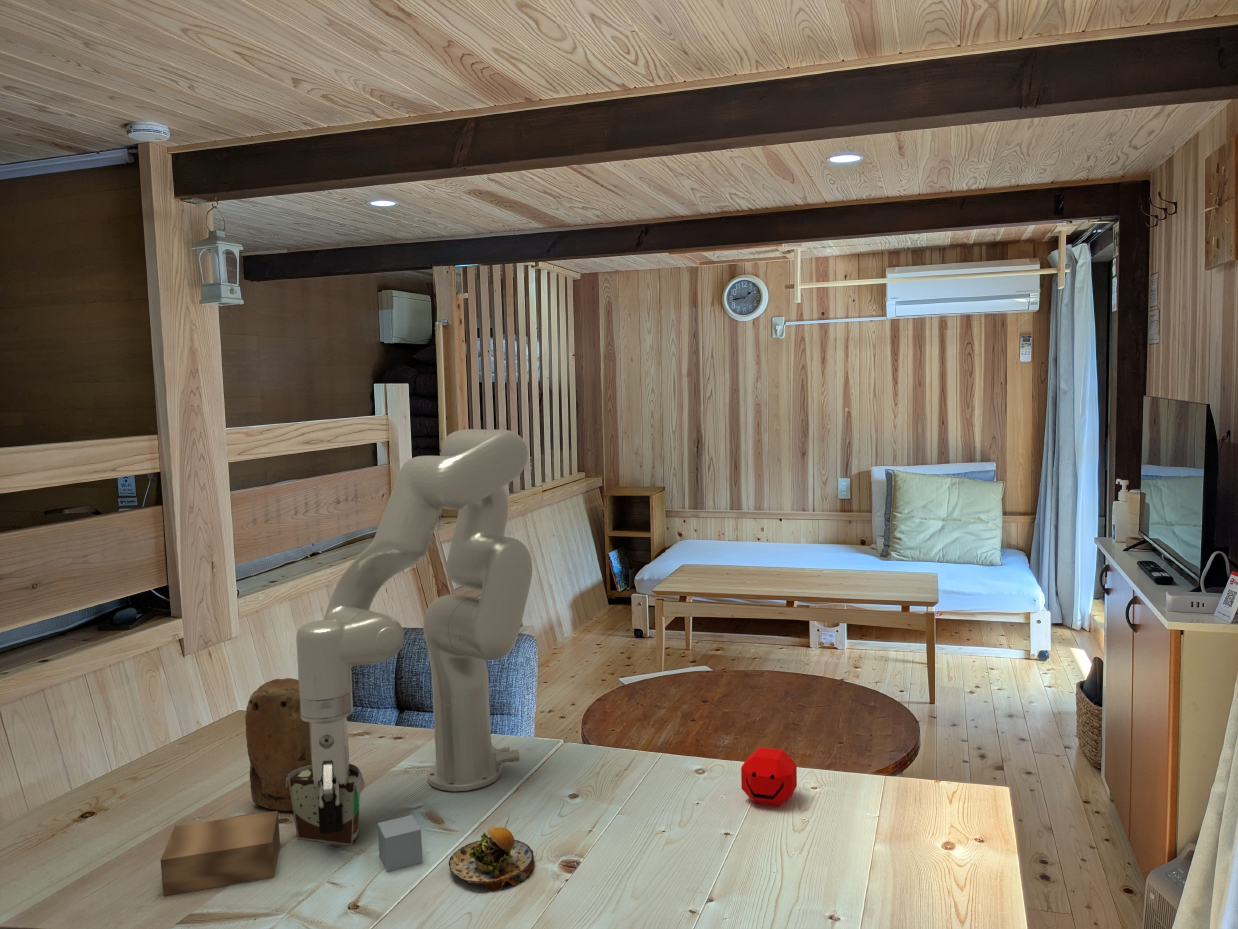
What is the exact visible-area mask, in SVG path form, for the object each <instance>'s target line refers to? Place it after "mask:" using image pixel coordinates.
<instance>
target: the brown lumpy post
mask: <svg viewBox="0 0 1238 929" xmlns="http://www.w3.org/2000/svg"><path fill="white" fill-rule="evenodd" d="M244 718H245V719H244V720H245V721H244V722H245V738H246V748H247V749H246V750H247V754H248V760H249V764H250V765H249V782H250V787H249V788H250V794H251V799H252V803H254V804H255V805H258V806H259V807H263V808H265V809H270V810H273V811H281V812H282V811H283V812H291V811H292V812H293V807H292V801H291V794H290V788H289V786H288V787H286V779H287V778H288V774H289V773H291V772H293V771H295V770H297V769H299V768H302V767H305V766H309V765H312V761H311V748H310V732H309V722H306V721H303V720H302V719H301V718H300V702H299V682H298V679H297V678H291V677H288V678H275V679H271V680H269V681H267V682H265V683H263V684H262V685H260V686H259V687H258V688H257V689H256V690H255V691H253V693H252V694H251V695H250V697H249V700H248V702H247V706H246V713H245V716H244Z"/></svg>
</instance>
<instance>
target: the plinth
mask: <svg viewBox="0 0 1238 929" xmlns="http://www.w3.org/2000/svg"><path fill="white" fill-rule="evenodd" d="M280 838H281V836H280V824H279V810H273V811H268V812H262V813H261V812H260V813H255V814H247V815H240V816H234V817H227V818H222V819H221V818H220V819H213V820H206V821H201V822H200V821H199V822H194V823H188V824H187V823H186V824H181V825H175V826H174V827H173V829H172V832H171V835H170V836H169V839H168V842H167V844H166V846H165V848H164V850H163V854H162V855H161V858H160V870H161V882H162V896H163V897H166V896H172V895H177V894H184V893H189V892H194V891H200V890H206V889H212V888H218V887H224V886H230V885H235V884H242V883H248V882H254V881H260V880H266V879H270V878H275V875H276V868H277V864H278V858H279V852H280V846H281V839H280ZM165 895H166V896H165Z"/></svg>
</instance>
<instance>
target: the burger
mask: <svg viewBox="0 0 1238 929" xmlns="http://www.w3.org/2000/svg"><path fill="white" fill-rule="evenodd" d="M507 818H508V819H507V821H506V823H505V826H504V827H503V826H491V827H490V828H488V829H487V830H486V832H484V831H483V833H482V835H480V838H481V839H480V840H476V841H473V842H469V843H468V844H465V845H464V846H462V847H460V848H458V849H457V850H456V851H455V852H453V854H452V855H451V856H450V858H449V860H448V867H449V871H450V872H451V873H452V874H453V875H456V876H457V877H458V878H460V879H461V880H464V881H466V882H468V883H469V884H470V883H472V884H479V885H480V884H481V885H484V887H485V891H486V893H488V892H492V893H495V892H497V891H500V890H502V891H503V890H504V889H503V886H504V885H505V884H506V882H509V883H510V884H511V885H512V886H518V885H520V884H521V882H525V880H526V878H527V876H529V875H530V873H531V872H534V870H535V857H534V850H532V848H531V847H530V845H528V844H527V843H526V842H523V841H520V840H518V839H515V837H514V835H513V834H512V831H510V829H507V824H508V822H509V818H510V815H508V817H507Z"/></svg>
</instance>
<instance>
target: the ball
mask: <svg viewBox="0 0 1238 929" xmlns="http://www.w3.org/2000/svg"><path fill="white" fill-rule="evenodd" d="M797 767H798V766H797V763H796V762H795V761H794V760H793V759H792V758H791V756H790V755H788V753H787V752H785V750H783V749H777V748H769V747H758V748H756V750H754V751H753V752H752V753H751V754H750V755H749V756H748V757H747V758H746V759H745V761H744V762H743V764H742V766H741V767H740V772H741V774H740V776H741V778H740V780H741V790H742V791H743V792H744V794H745V795H746V796H747V797H748V798H749V799H750V800H751V801H752V802H753V803H754V804H756V805H763V806H772V807H781V806H782V805H783V804H784V803H785V802H787V801H788V800H789V799H790V798H791V797H792V796H793V794H794V792H795V791H796V789H797V785H798V783H797V782H798V776H797V772H798V771H797Z"/></svg>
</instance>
